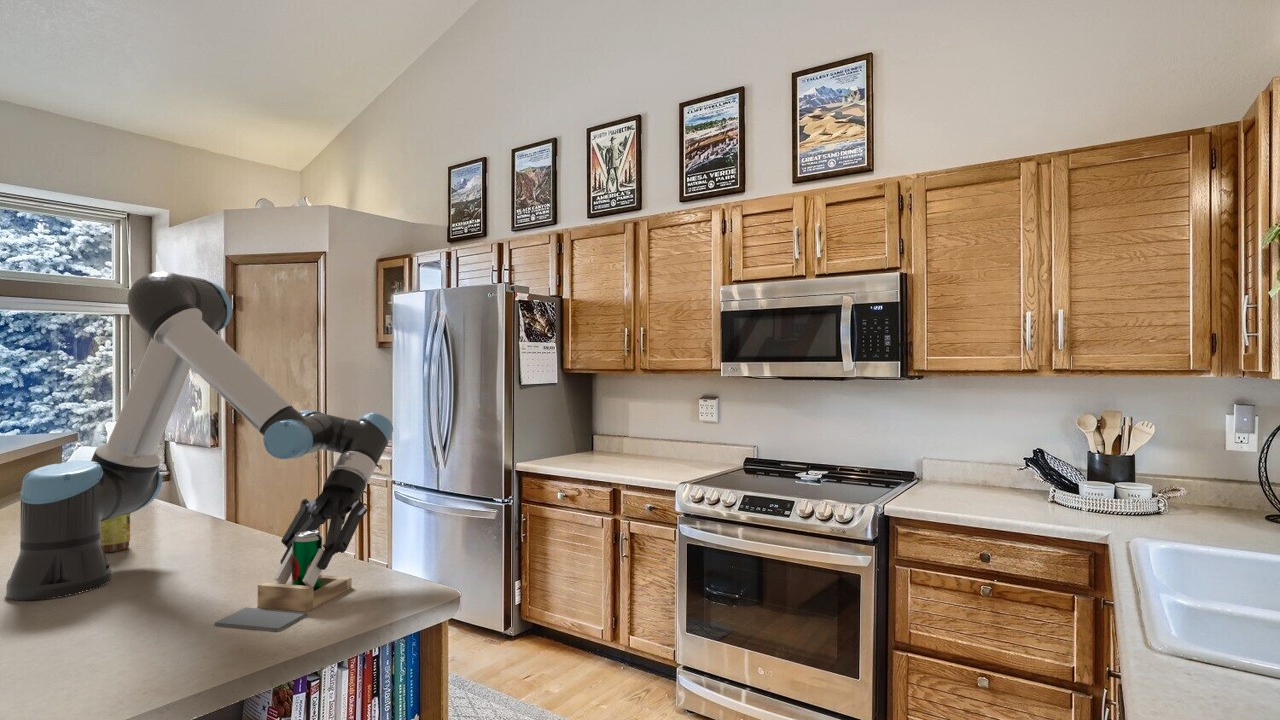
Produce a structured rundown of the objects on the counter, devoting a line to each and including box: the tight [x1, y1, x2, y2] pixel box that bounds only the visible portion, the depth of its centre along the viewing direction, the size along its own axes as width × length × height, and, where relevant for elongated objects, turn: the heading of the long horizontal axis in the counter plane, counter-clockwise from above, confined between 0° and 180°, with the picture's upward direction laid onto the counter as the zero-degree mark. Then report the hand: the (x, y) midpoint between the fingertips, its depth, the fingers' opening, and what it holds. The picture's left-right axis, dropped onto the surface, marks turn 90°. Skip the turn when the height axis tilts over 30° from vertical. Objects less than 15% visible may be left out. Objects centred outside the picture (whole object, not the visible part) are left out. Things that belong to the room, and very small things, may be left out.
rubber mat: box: [214, 606, 308, 632], centre depth 112 cm, size 12×7×1 cm, turn 80°
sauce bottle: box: [100, 513, 131, 554], centre depth 152 cm, size 7×6×20 cm
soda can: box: [291, 530, 324, 591], centre depth 124 cm, size 5×5×12 cm
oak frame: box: [256, 574, 353, 613], centre depth 124 cm, size 10×13×4 cm
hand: (293, 583), depth 120 cm, fingers closed on soda can, 5 cm apart
